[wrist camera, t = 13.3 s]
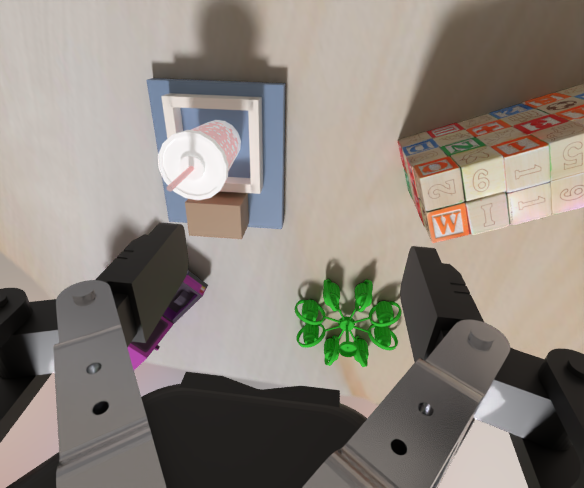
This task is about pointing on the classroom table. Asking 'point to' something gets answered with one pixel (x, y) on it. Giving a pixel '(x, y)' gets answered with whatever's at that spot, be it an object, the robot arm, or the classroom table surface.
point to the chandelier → (347, 323)
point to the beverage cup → (199, 159)
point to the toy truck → (169, 317)
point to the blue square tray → (249, 162)
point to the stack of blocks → (499, 167)
